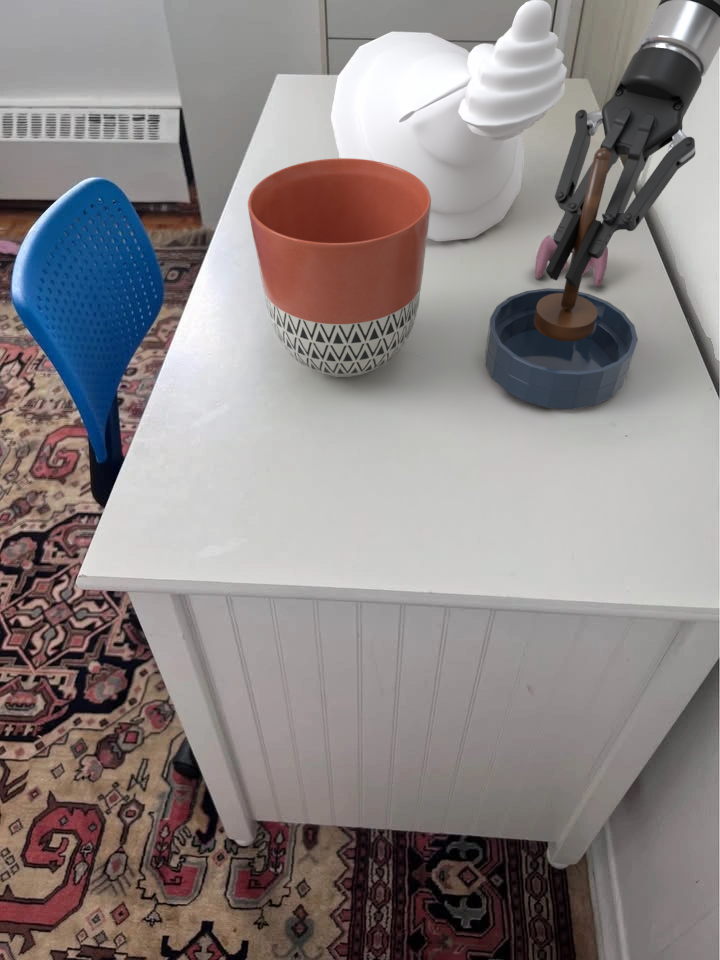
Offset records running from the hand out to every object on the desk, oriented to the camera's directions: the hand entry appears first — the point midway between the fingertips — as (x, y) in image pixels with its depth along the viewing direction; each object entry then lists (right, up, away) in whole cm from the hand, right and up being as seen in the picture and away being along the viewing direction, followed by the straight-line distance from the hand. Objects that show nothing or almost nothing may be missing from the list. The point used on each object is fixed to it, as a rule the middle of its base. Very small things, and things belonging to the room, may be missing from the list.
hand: (560, 278), depth 78 cm
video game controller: (+9, +8, +27) cm, 30 cm away
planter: (-24, -6, +15) cm, 29 cm away
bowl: (+3, -8, +13) cm, 15 cm away
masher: (+3, -3, +8) cm, 9 cm away
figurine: (-8, +21, +40) cm, 46 cm away
